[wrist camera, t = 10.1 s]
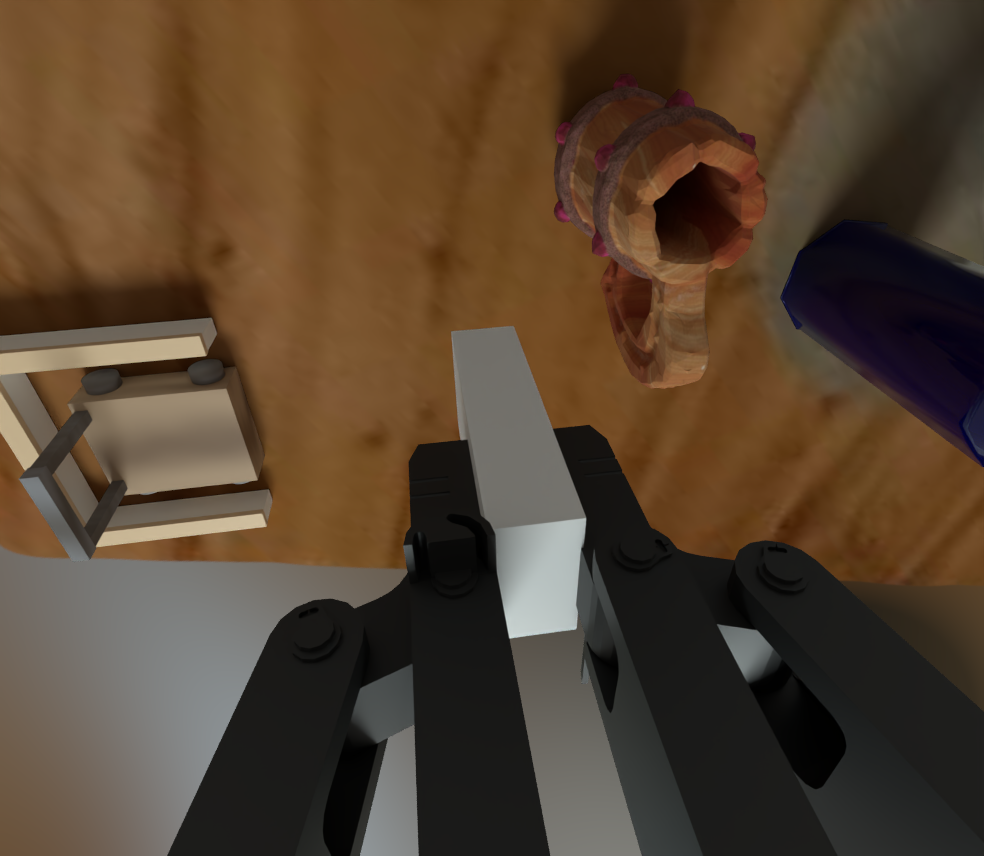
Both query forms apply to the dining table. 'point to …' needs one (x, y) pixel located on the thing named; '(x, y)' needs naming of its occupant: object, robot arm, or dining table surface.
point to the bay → (29, 429)
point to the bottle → (899, 321)
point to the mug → (658, 217)
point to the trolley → (148, 442)
